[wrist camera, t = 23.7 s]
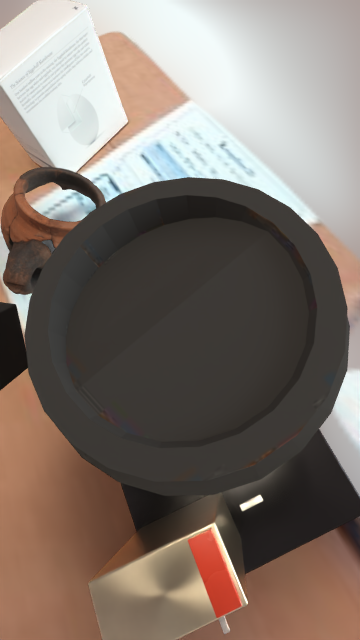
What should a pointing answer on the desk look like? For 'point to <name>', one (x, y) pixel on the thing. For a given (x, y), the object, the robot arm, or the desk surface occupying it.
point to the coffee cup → (188, 336)
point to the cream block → (172, 575)
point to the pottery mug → (36, 225)
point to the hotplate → (272, 505)
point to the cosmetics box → (57, 85)
